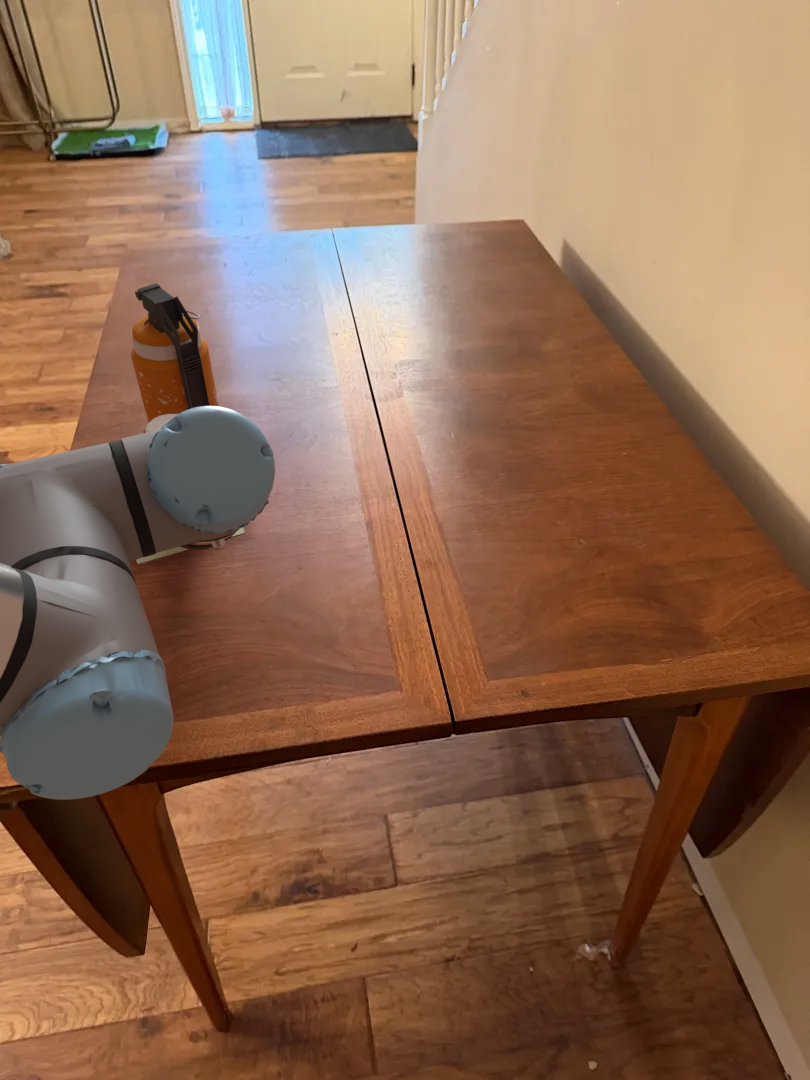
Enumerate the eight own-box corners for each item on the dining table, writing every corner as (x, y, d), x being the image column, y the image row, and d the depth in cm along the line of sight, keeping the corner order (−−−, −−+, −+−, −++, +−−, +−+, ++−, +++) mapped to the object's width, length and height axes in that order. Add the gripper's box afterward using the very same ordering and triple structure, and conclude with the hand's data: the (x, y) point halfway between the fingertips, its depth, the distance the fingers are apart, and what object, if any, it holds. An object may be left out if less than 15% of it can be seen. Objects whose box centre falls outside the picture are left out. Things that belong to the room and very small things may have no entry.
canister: (202, 409, 106) (174, 267, 92) (245, 447, 99) (221, 300, 86) (141, 433, 101) (102, 287, 88) (181, 474, 95) (146, 324, 82)
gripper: (129, 569, 58) (134, 581, 80) (294, 521, 62) (255, 544, 84) (98, 473, 58) (112, 511, 80) (266, 431, 62) (235, 478, 84)
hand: (186, 528), depth 82 cm, fingers closed
